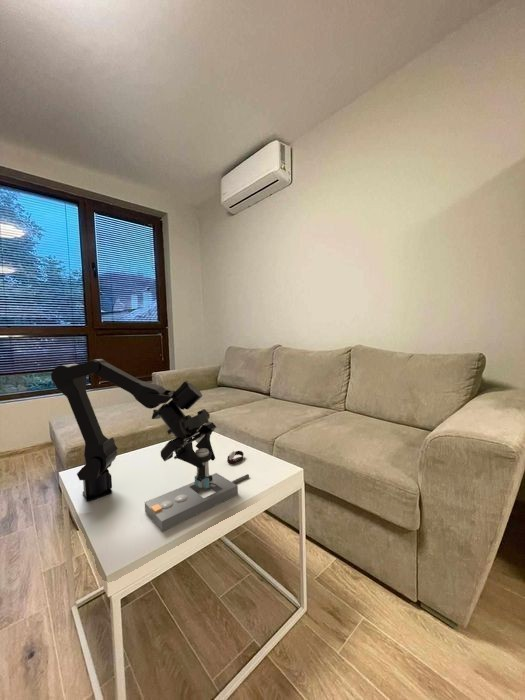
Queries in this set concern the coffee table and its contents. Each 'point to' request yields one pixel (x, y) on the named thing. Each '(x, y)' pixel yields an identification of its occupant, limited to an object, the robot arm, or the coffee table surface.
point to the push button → (204, 469)
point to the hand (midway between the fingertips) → (208, 463)
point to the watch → (233, 457)
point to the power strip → (188, 501)
